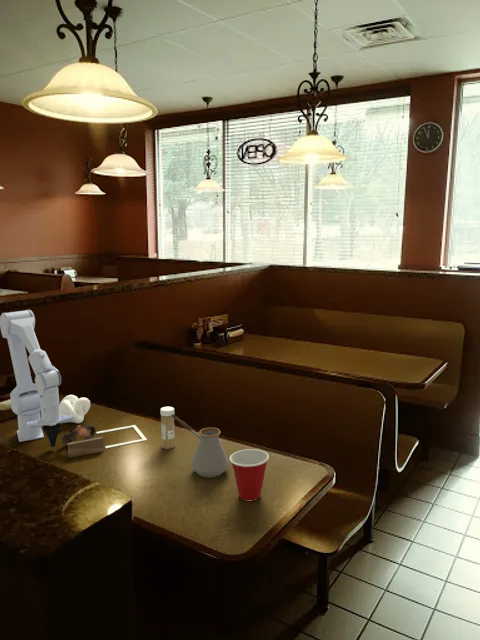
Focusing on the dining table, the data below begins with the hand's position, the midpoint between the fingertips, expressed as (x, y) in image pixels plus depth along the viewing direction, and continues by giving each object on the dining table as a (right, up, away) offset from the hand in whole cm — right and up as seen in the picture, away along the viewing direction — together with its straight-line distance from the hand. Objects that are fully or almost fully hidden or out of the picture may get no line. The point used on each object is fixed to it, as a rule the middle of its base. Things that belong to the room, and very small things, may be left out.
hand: (52, 445), depth 171 cm
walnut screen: (+12, -2, -3) cm, 12 cm away
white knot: (0, +3, +26) cm, 26 cm away
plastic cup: (+64, -7, -28) cm, 70 cm away
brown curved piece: (+8, -1, +3) cm, 9 cm away
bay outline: (+20, +1, +10) cm, 22 cm away
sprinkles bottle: (+38, -1, +3) cm, 38 cm away
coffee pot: (+49, -4, -11) cm, 50 cm away
